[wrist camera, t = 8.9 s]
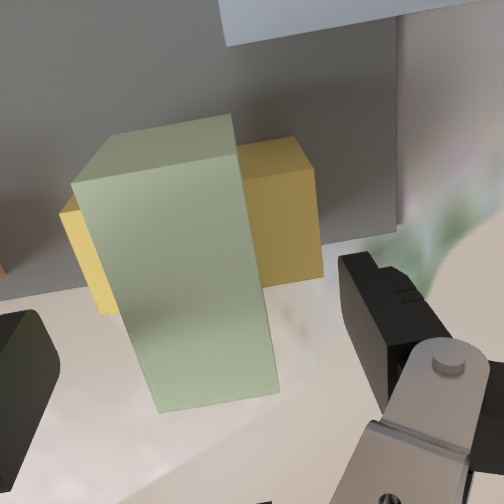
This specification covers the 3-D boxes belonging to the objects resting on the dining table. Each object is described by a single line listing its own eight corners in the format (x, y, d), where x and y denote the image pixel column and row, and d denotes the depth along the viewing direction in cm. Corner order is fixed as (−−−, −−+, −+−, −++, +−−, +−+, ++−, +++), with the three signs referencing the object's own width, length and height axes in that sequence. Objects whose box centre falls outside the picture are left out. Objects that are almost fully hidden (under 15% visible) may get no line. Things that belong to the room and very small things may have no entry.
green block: (110, 135, 13) (70, 183, 9) (230, 113, 13) (236, 153, 9) (171, 326, 16) (159, 413, 13) (266, 309, 16) (280, 393, 13)
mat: (-87, 311, 20) (-92, 316, 20) (-306, -20, 14) (-320, -21, 13) (393, 227, 20) (396, 231, 19) (391, -152, 14) (396, -156, 13)
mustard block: (121, 259, 19) (100, 315, 16) (90, 171, 17) (58, 213, 14) (304, 227, 19) (324, 277, 16) (293, 135, 17) (313, 168, 14)
